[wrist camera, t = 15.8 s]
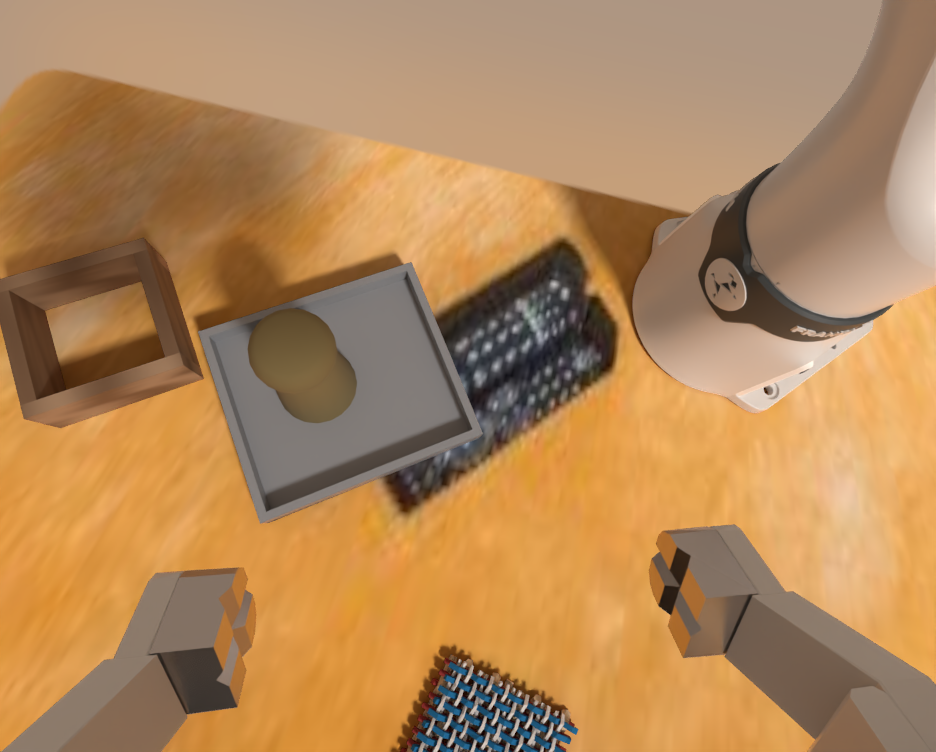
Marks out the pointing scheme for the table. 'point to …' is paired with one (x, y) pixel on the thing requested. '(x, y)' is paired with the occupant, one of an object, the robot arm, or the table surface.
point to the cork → (302, 365)
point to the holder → (74, 279)
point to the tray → (373, 408)
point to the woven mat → (485, 716)
